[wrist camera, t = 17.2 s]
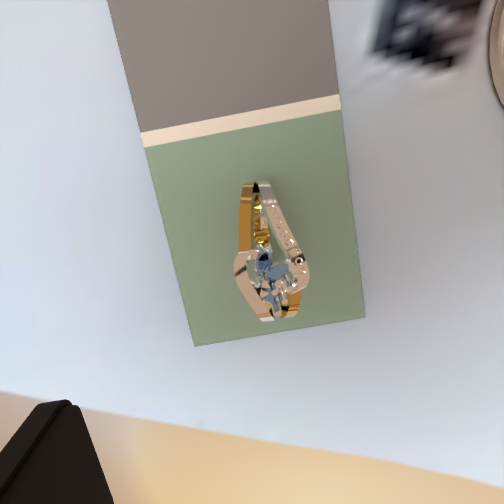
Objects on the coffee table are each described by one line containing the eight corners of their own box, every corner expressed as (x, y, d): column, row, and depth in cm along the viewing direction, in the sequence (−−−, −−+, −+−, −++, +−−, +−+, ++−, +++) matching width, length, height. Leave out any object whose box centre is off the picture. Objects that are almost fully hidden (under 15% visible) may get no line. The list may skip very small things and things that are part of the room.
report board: (302, -188, 20) (304, -199, 19) (363, 313, 27) (366, 318, 27) (75, -136, 20) (70, -145, 20) (195, 342, 28) (194, 347, 27)
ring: (290, 285, 26) (314, 352, 18) (237, 289, 26) (240, 358, 18) (285, 170, 24) (310, 191, 16) (228, 174, 24) (227, 197, 16)
